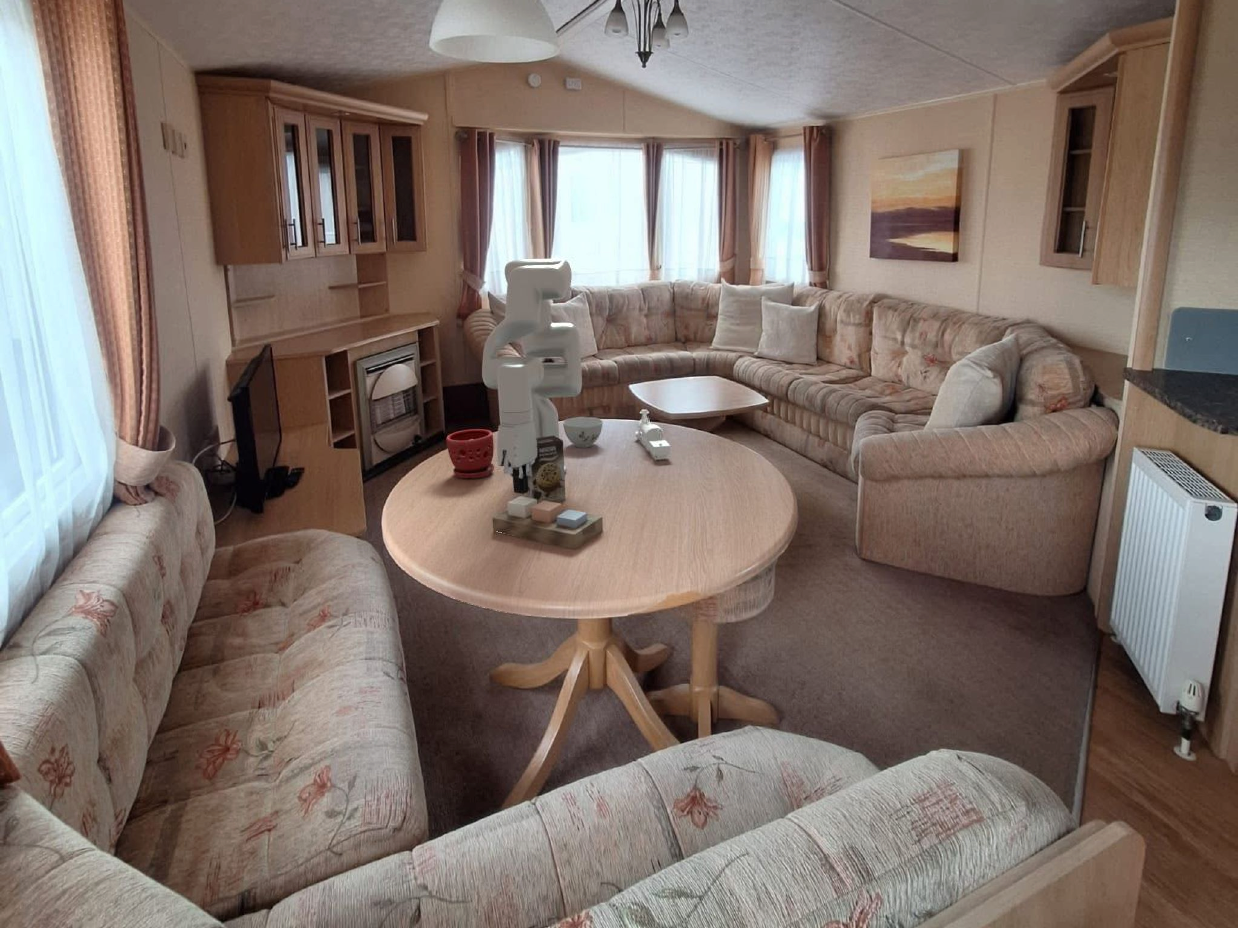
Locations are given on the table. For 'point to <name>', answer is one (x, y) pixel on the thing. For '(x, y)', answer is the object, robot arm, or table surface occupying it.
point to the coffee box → (547, 471)
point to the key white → (521, 506)
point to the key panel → (548, 529)
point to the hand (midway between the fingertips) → (521, 492)
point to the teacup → (582, 430)
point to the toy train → (652, 438)
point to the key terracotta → (546, 511)
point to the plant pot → (471, 452)
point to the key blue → (572, 518)
